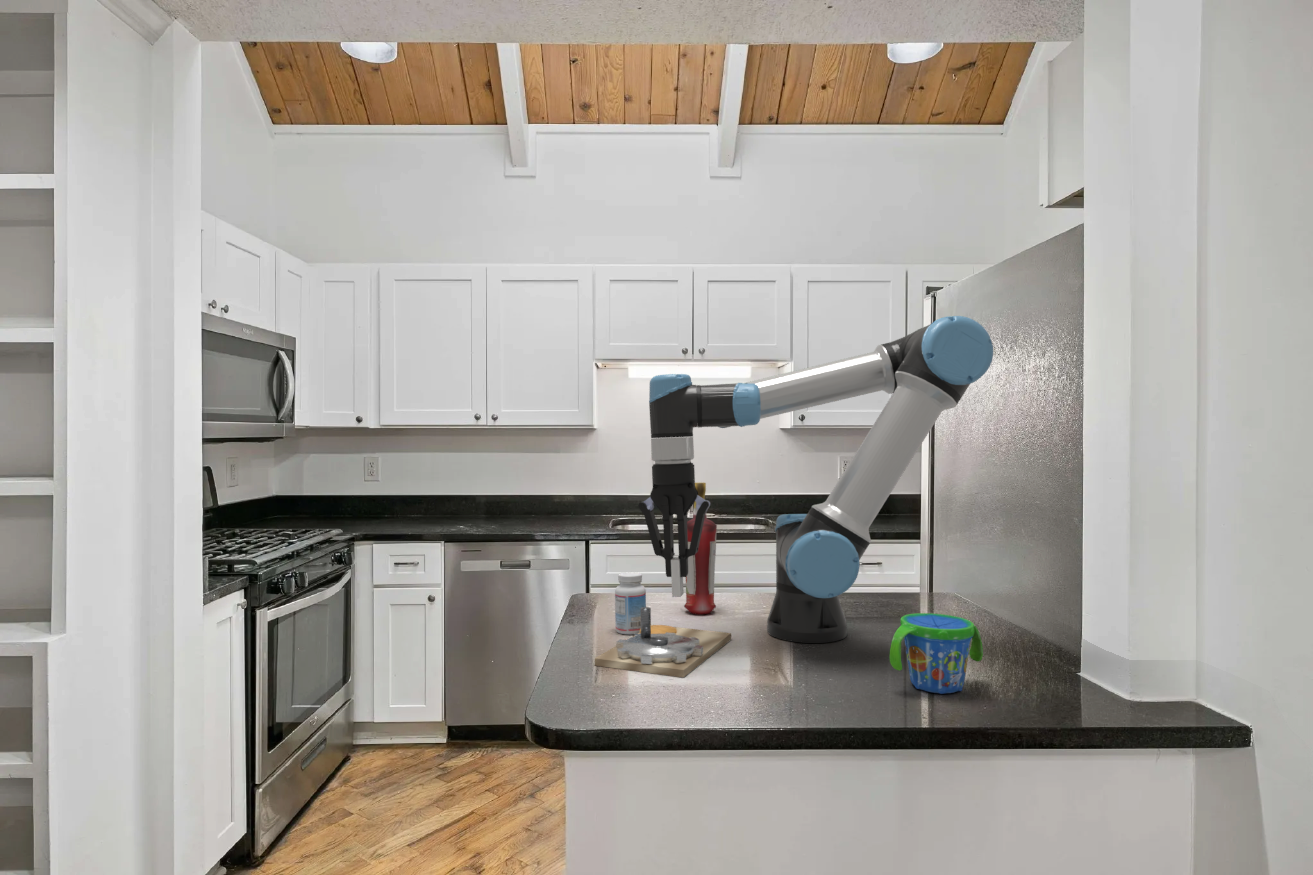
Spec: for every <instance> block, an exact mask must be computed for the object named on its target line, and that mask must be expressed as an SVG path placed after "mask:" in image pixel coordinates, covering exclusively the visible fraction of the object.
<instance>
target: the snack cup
mask: <svg viewBox="0 0 1313 875" xmlns="http://www.w3.org/2000/svg"><path fill="white" fill-rule="evenodd" d="M902 641H904V647H905V654H906V663H907V668H908V673H909V679H910V681H911V684H912V685H913V686H914V687H915V689H918V690H921V691H924V692H928V693H934V694H940V695H943V694H951V693H952V694H953V693H956V692H962V691H963V687H964V685H965V680H966V673H967V667H968V661H969V658H970V659H971V660H972V661H974V662H977V663H978V662H980V661H982V660H983V657H984V656H983V655H984V653H983V652H984V648H983V642H982V638H981V633H980V631H979V629H978V628H977V626H976V625H975V624H974V623H973V621H971V620H969V619H966V618H963V617H960V616H957V615H956V616H955V615H950V614H944V613H931V612H930V613H929V612H926V613H925V612H920V613H919V612H918V613H909V614H904V615H903V616H901V618H900V626H899V627H898V628H897V629H896V631H895V632H894V634H893V637H892V640H891V644H890V648H889V656H888V657H889V664H890V665H891V667H892V668H893V669H894V670H895V671H899V672H900V671H902V670H903V664H902Z"/></svg>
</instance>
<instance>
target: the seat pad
mask: <svg viewBox="0 0 1313 875" xmlns="http://www.w3.org/2000/svg"><path fill="white" fill-rule="evenodd" d="M674 627H675V626H671V625H667V624H665V625H664V624H651V634H665V633H666V632H667V633H677V629H676V628H674ZM640 633H641V628H640Z"/></svg>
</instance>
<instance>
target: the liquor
mask: <svg viewBox="0 0 1313 875" xmlns="http://www.w3.org/2000/svg"><path fill="white" fill-rule="evenodd" d="M706 485H707V483H706V482H702V481H701V482H699V481H698V482H695V487H696V490H697V491H698V496H700V497H702V498H703V499H705V500H706V498H705V496H706V492H707V488H706V487H707V486H706ZM697 511H698V510H697V509H696V501H695V502H694V504H693V512H692V518H691V519H688V520H687V534H688V549H689V548H690V543H691V538H692V533H693V528H694V523H695V518H696V514H697ZM717 527H718V525H717V524H716V523H715V522H714V521H713V520H710V519H709V518H708V517H707V512H706V513H705V518H704V523H703V528H702V533H701V538H700V543H699V548H698V552H697V553H696V554H695V555H693V556H690V557H688V575H687V576H686V577H685V601H686V602H685V604H684V608H685V610H687V611H688V612H689V613H690V614H692V615H698V616H699V615H701V616H703V615H704V616H705V615H708V614H709V615H710V614H711V613H712V612H713V611H714V609H716V607H717V605H716V603H715V570H716V569H715V568H716V557H717V556H716V554H717V553H716V551H717V529H718V528H717Z"/></svg>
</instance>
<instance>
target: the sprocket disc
mask: <svg viewBox="0 0 1313 875" xmlns="http://www.w3.org/2000/svg"><path fill="white" fill-rule="evenodd" d="M651 612H652V610H651V607H648V606H646V607H642V608H641V634H634V636H635V637H633V636H631V637H629V638H627V639H618V640H617V641H616V642H615V646H616V649H617V650H618V656H619V657H620V658H622V659H623V658H631V659H634V660H638V661H641V663H643V664H652V663H653V662H675V663H681V662H686V659H687V658H690V657H692V656H693V655H696V656H701V655H702V654H703V646H699V639H697V638H695V637H690V638H688V637H684V636H680V635H676V633H667V632H666V633H665V634H651V625H652V622H651V620H652V614H651Z"/></svg>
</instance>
